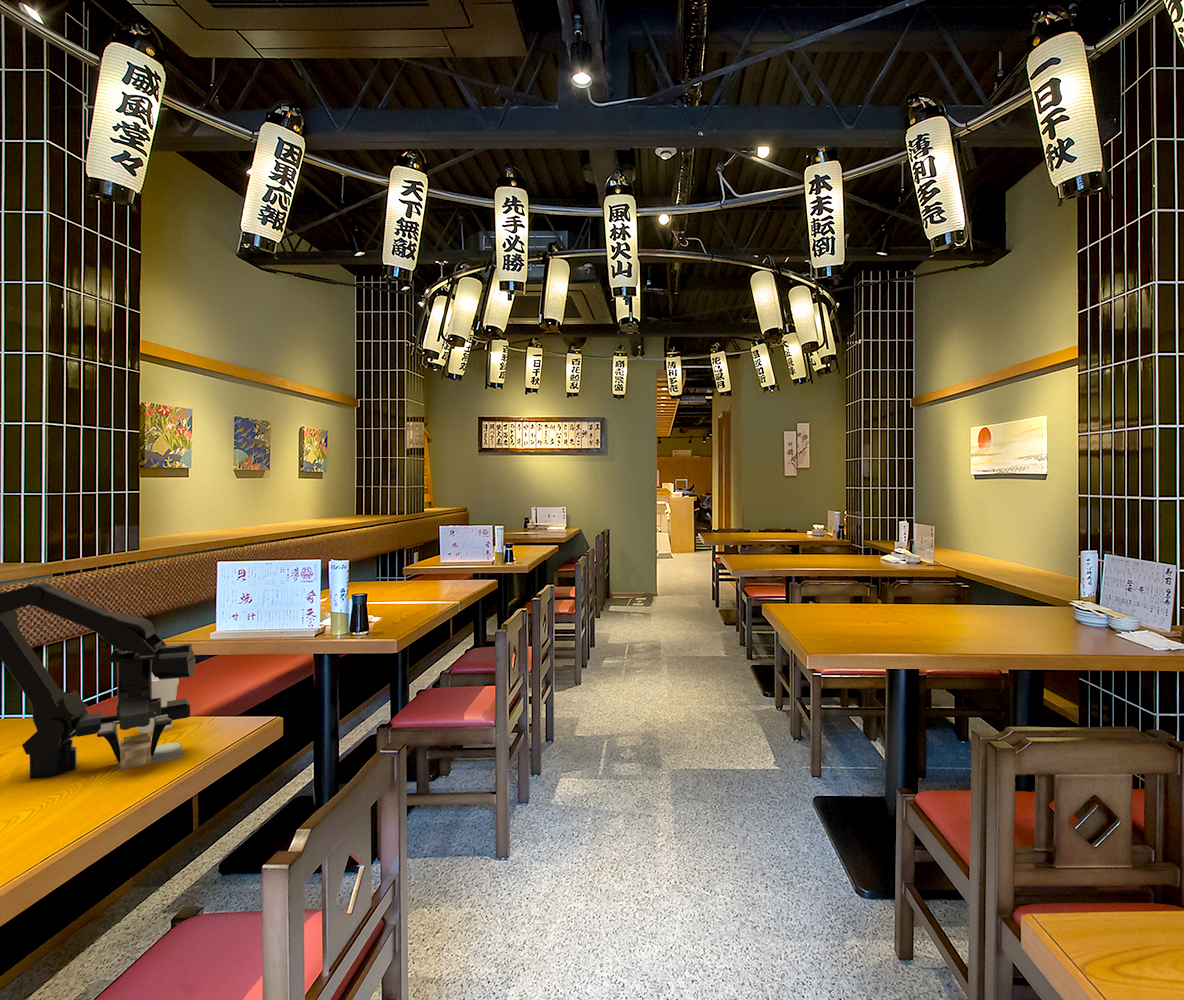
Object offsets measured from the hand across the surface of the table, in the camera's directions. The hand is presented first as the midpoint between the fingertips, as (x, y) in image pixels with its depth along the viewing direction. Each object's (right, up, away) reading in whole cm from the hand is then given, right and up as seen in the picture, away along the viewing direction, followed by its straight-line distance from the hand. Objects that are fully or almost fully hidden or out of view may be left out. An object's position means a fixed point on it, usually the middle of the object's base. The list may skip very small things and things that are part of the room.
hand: (135, 758), depth 131 cm
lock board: (+1, -2, +3) cm, 4 cm away
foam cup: (-10, -2, +20) cm, 22 cm away
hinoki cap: (0, -1, 0) cm, 1 cm away
